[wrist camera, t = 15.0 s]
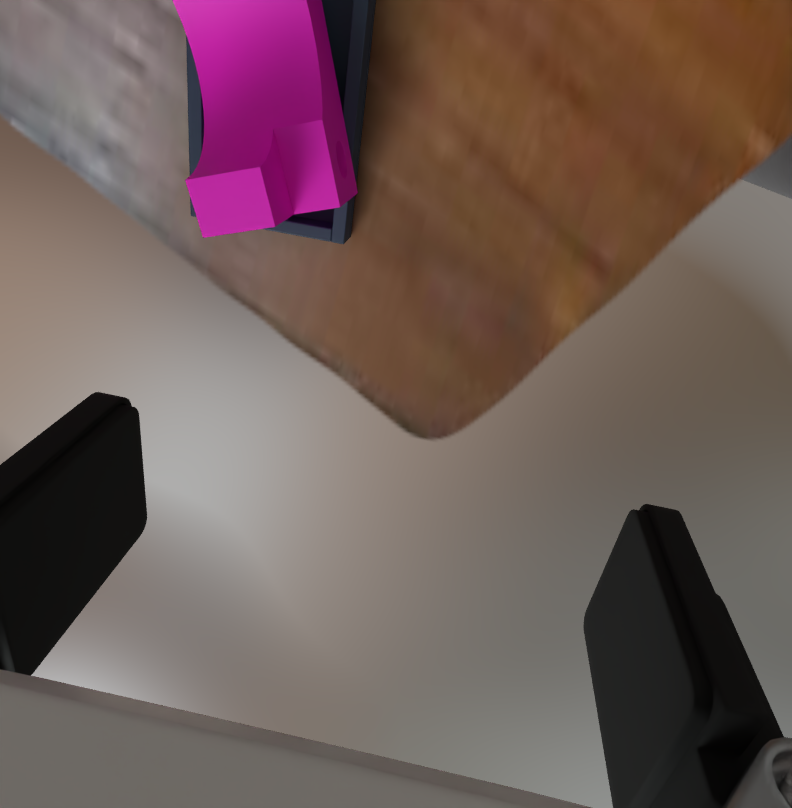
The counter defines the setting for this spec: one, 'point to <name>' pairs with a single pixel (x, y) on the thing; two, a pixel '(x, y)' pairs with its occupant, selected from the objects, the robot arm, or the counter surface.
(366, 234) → the counter surface
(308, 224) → the rectangular tray
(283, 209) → the toy block
